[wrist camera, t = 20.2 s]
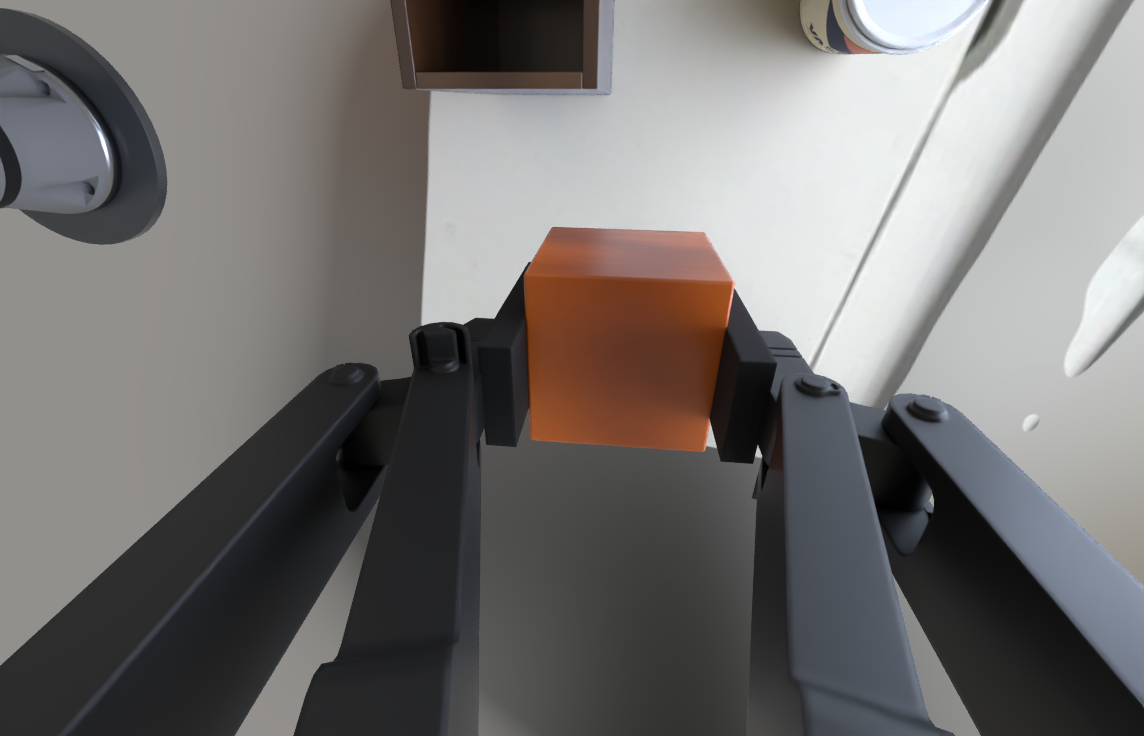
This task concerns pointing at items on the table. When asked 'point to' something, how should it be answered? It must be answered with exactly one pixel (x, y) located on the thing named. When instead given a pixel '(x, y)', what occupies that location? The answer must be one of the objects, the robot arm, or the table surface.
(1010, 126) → the table surface
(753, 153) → the table surface
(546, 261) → the block
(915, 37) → the coffee cup
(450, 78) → the box
